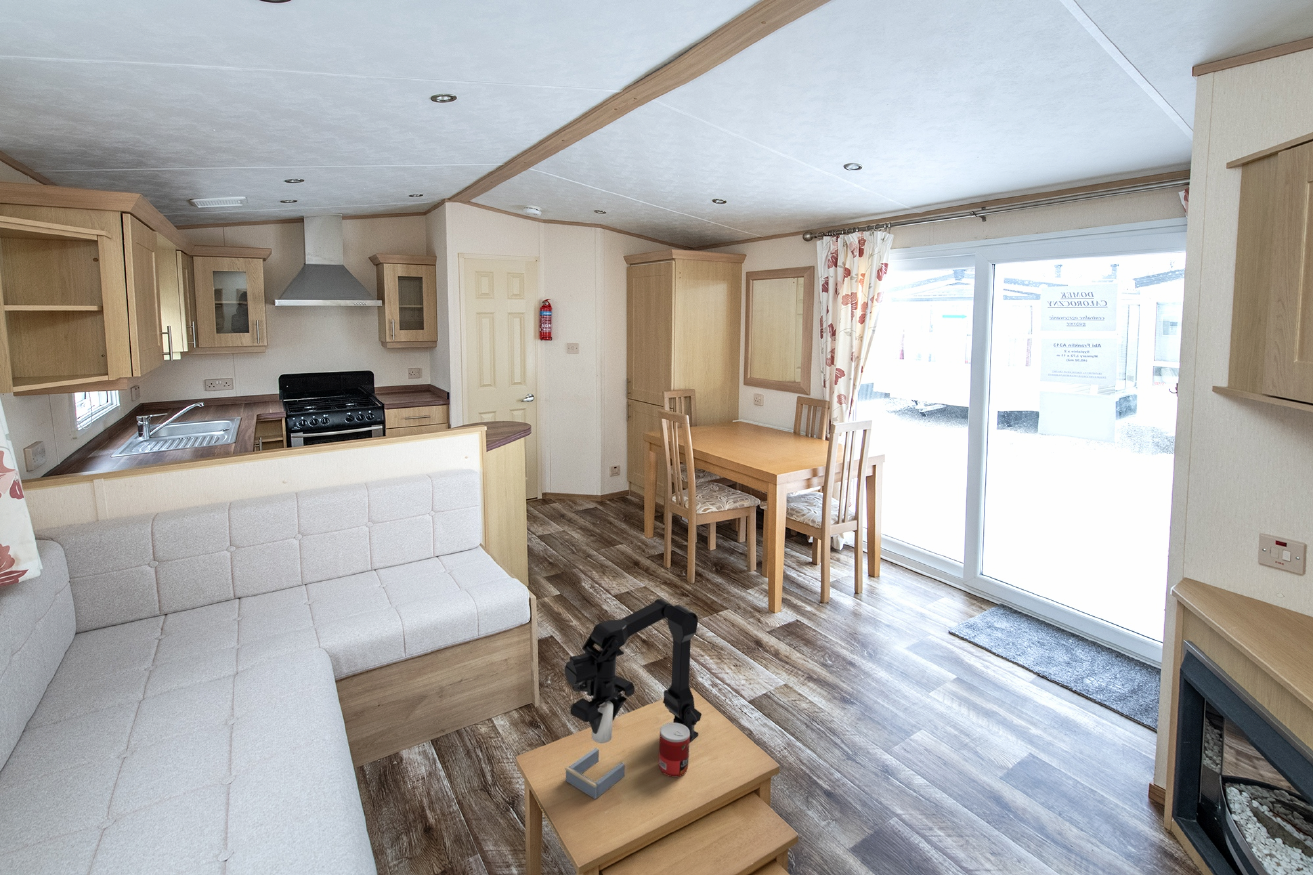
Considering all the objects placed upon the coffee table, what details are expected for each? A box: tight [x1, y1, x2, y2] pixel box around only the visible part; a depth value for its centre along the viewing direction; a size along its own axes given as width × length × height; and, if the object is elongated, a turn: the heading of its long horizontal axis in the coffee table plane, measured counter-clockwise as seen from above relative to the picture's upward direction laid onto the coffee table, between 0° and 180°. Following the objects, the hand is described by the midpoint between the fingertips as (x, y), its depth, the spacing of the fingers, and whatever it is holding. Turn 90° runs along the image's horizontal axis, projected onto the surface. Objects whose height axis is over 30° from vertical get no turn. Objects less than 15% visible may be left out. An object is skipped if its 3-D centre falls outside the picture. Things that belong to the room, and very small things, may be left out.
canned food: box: [658, 722, 691, 777], centre depth 181 cm, size 8×8×11 cm
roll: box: [591, 701, 614, 744], centre depth 176 cm, size 5×5×9 cm
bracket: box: [564, 747, 626, 800], centre depth 176 cm, size 12×10×4 cm
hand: (602, 728), depth 176 cm, fingers closed on roll, 5 cm apart
